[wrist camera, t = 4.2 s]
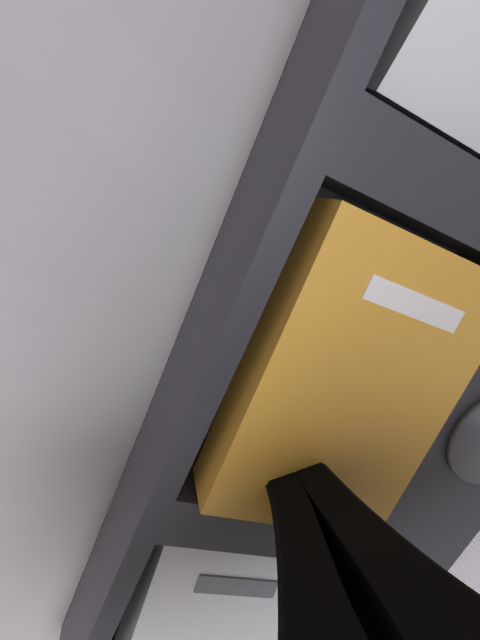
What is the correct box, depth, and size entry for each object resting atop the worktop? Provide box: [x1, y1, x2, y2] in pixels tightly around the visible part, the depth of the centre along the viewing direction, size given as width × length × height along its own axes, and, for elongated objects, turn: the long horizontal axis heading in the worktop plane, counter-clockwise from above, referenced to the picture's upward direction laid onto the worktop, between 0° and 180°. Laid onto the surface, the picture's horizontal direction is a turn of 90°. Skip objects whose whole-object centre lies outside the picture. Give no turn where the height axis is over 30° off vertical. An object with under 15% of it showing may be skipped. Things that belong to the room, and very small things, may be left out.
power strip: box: [60, 0, 480, 640], centre depth 12 cm, size 10×32×4 cm, turn 157°
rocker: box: [114, 545, 278, 640], centre depth 12 cm, size 5×7×2 cm
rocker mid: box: [193, 197, 480, 524], centre depth 9 cm, size 5×7×2 cm
